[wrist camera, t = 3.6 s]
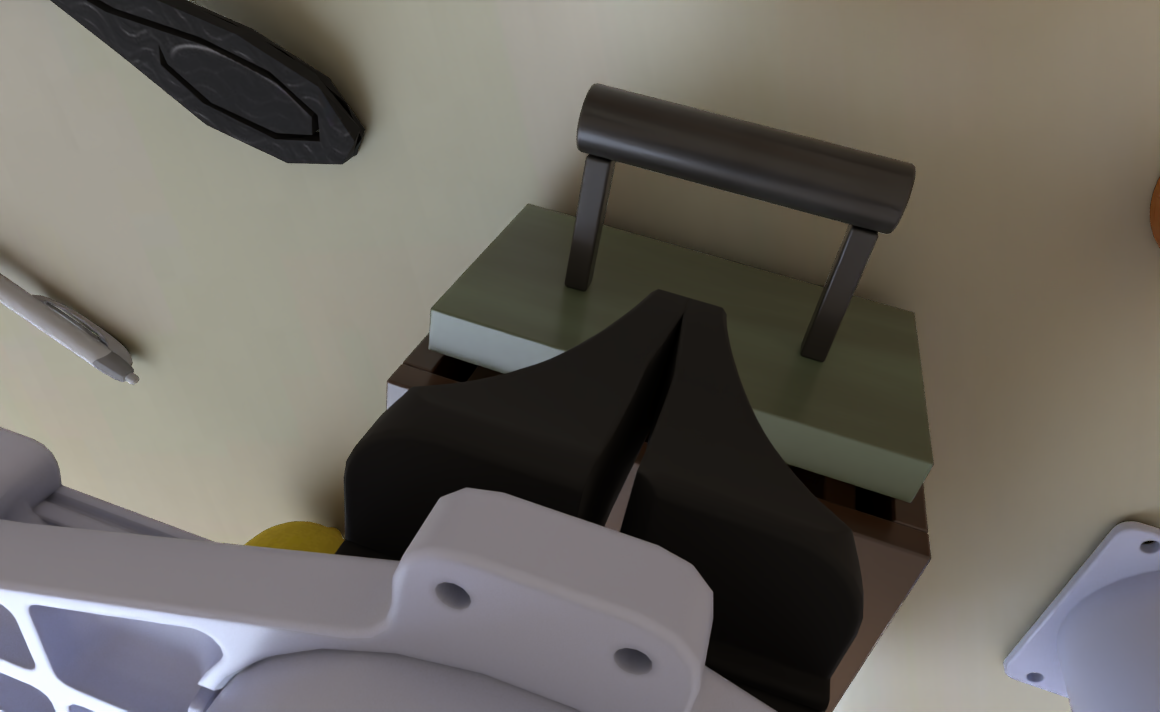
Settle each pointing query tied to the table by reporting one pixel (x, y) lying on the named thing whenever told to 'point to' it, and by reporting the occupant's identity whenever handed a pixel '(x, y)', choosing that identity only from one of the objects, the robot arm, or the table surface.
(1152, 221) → the jar
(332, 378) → the table surface
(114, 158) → the table surface
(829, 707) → the cabinet
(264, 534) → the lemon
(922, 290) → the table surface
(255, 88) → the hairbrush
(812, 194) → the drawer
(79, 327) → the pen
